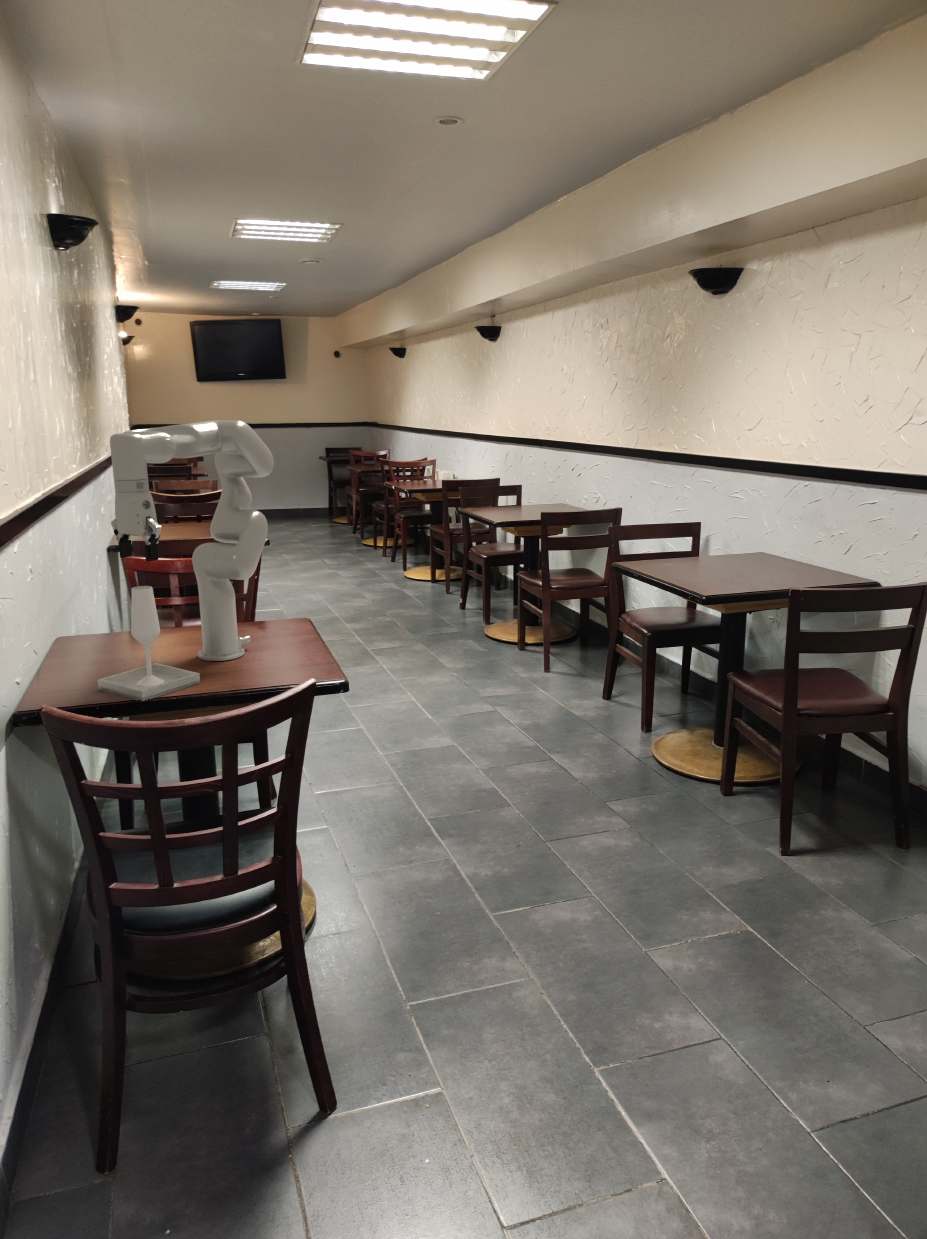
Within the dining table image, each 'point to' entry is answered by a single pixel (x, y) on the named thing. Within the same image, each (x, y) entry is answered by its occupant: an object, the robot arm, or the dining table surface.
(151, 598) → the champagne flute
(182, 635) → the dining table surface
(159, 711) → the dining table surface
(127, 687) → the serving tray
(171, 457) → the robot arm
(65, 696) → the dining table surface
